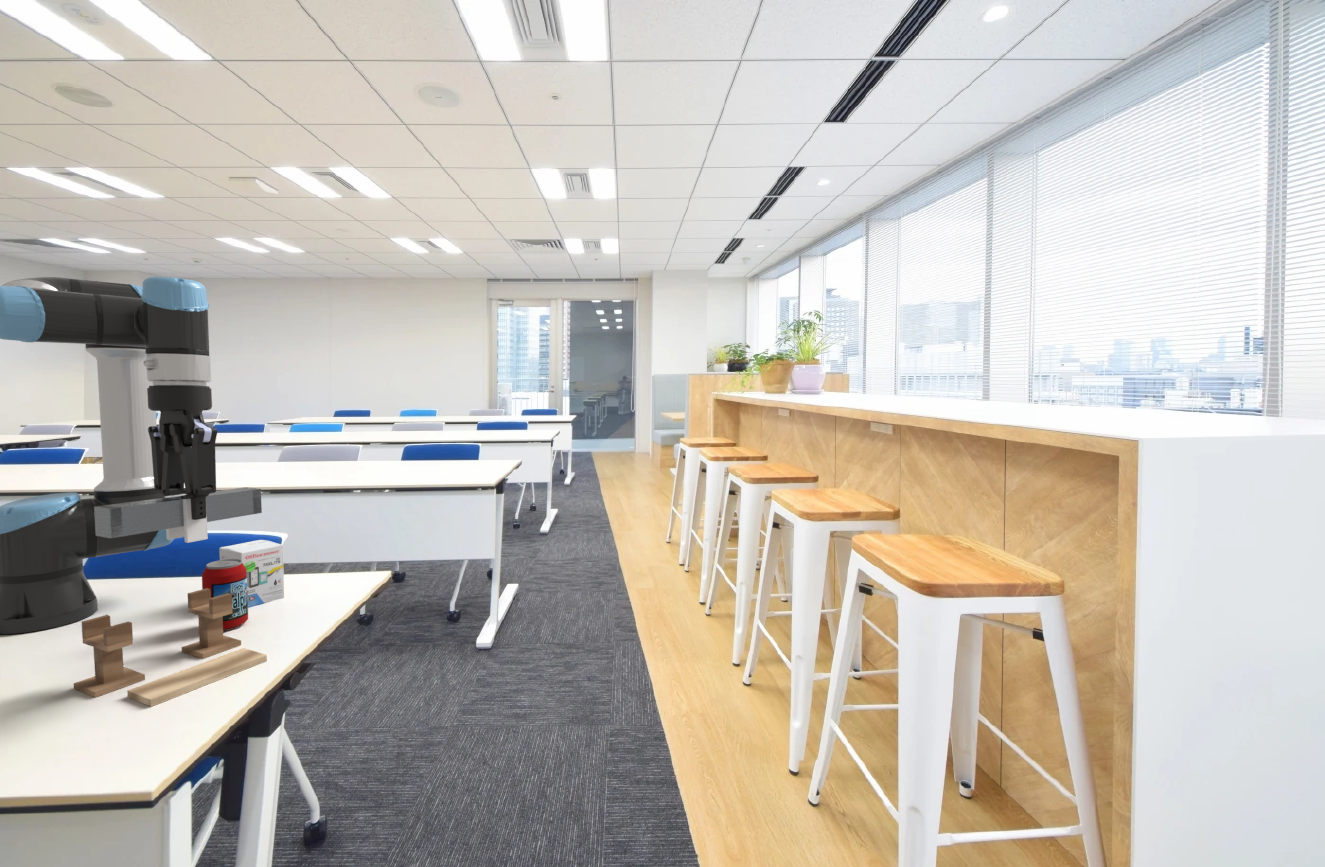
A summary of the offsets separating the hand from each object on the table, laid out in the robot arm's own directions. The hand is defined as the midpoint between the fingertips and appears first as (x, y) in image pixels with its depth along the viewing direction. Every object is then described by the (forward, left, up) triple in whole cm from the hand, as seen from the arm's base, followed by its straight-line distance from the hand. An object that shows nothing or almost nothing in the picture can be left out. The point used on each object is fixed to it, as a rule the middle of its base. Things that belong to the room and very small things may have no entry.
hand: (187, 538), depth 92 cm
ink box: (-26, +25, -22) cm, 42 cm away
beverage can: (-16, +14, -22) cm, 31 cm away
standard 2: (-8, +7, -22) cm, 24 cm away
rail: (0, 0, +2) cm, 2 cm away
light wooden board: (+2, 0, -22) cm, 22 cm away
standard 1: (-8, -7, -22) cm, 24 cm away
